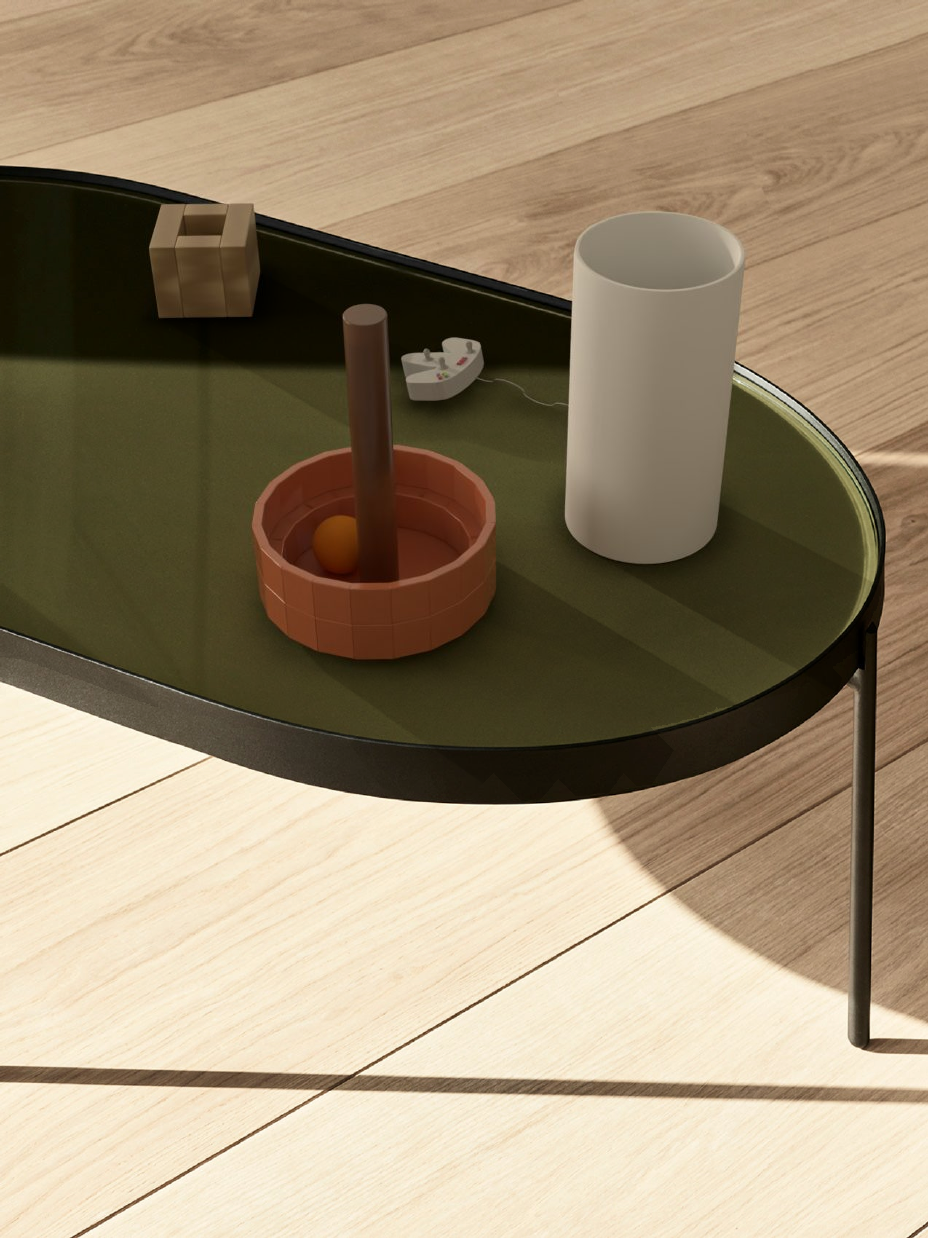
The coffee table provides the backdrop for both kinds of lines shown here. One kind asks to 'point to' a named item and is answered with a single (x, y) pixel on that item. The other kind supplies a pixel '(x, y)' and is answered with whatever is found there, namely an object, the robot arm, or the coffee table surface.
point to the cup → (650, 383)
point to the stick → (371, 441)
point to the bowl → (427, 554)
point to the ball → (336, 544)
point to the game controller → (445, 370)
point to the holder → (205, 260)
